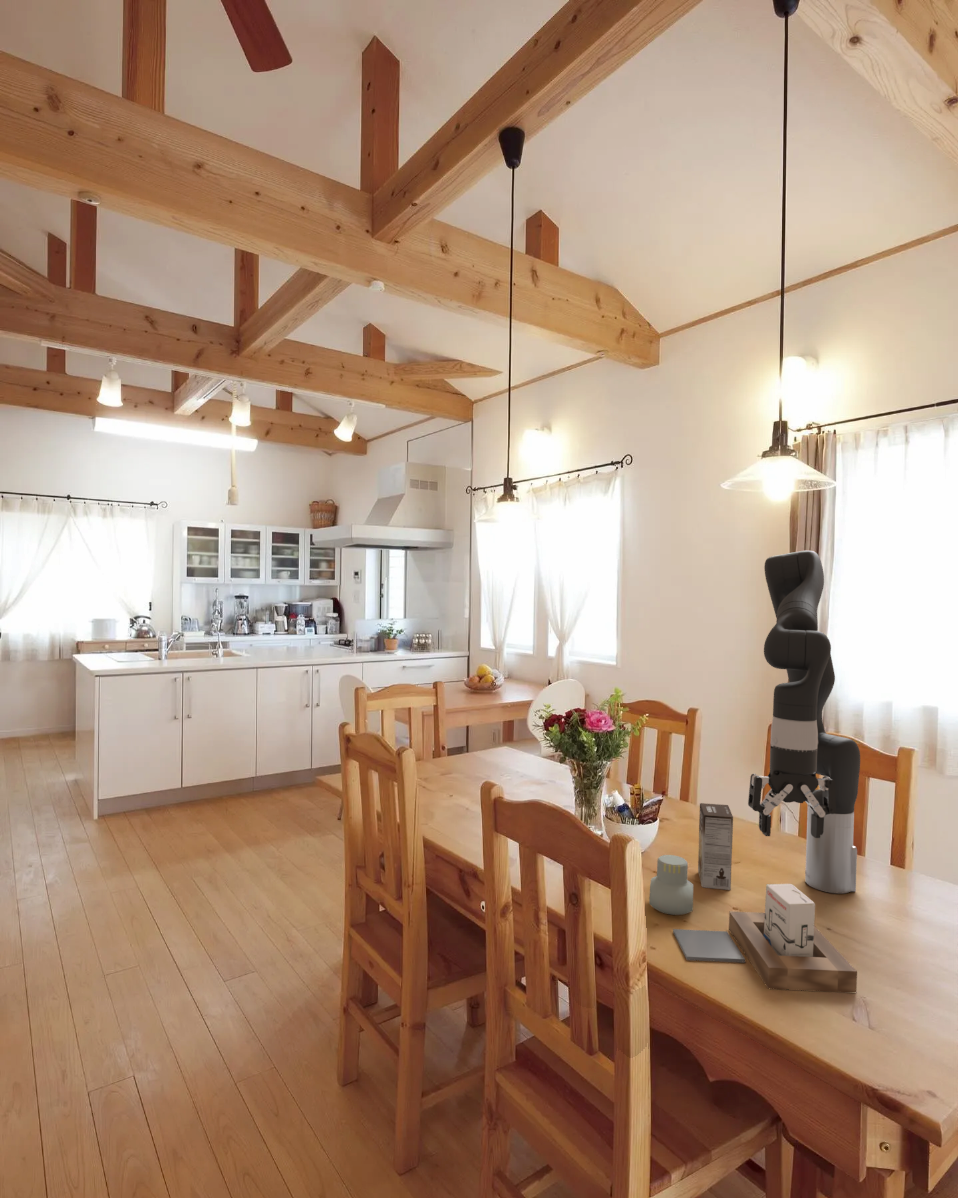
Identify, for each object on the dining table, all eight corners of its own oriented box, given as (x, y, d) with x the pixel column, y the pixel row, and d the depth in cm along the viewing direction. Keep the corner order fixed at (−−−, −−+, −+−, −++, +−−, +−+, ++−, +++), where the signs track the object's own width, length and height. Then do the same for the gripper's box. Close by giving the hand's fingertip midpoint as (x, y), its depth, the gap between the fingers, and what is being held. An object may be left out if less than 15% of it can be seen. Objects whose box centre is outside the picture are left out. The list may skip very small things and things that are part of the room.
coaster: (726, 934, 132) (726, 931, 132) (745, 962, 122) (745, 959, 122) (673, 932, 132) (673, 929, 132) (686, 960, 122) (686, 956, 122)
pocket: (803, 932, 133) (804, 914, 133) (856, 993, 113) (857, 971, 113) (728, 929, 134) (729, 911, 134) (768, 989, 114) (768, 967, 114)
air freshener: (692, 924, 136) (693, 872, 135) (648, 917, 138) (649, 867, 138) (692, 901, 146) (693, 853, 146) (651, 895, 148) (652, 848, 148)
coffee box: (696, 871, 162) (698, 802, 161) (726, 874, 160) (728, 804, 160) (701, 888, 153) (703, 814, 152) (732, 891, 151) (734, 816, 151)
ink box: (761, 947, 128) (763, 882, 127) (788, 946, 128) (790, 882, 128) (786, 972, 119) (788, 903, 119) (814, 972, 119) (816, 903, 119)
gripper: (825, 740, 127) (822, 830, 127) (745, 737, 127) (742, 827, 127) (845, 750, 119) (842, 845, 119) (760, 746, 120) (757, 841, 120)
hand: (790, 835), depth 123 cm, fingers open, 8 cm apart
